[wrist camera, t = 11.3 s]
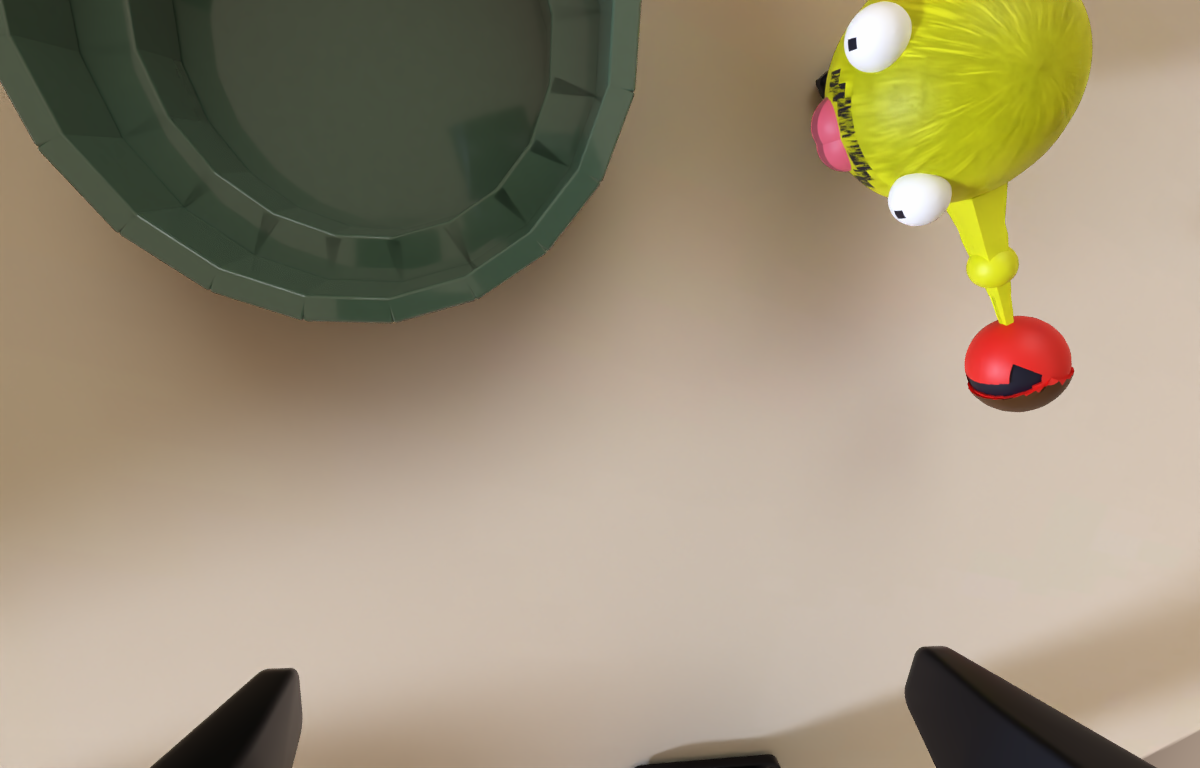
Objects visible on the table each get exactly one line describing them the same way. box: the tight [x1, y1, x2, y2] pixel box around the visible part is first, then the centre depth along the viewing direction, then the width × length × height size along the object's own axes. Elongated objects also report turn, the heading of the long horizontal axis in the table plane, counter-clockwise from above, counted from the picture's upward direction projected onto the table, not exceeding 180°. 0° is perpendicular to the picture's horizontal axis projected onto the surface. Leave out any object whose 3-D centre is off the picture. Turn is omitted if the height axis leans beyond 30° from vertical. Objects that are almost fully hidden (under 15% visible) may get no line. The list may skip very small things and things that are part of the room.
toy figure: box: [811, 0, 1092, 412], centre depth 15 cm, size 18×6×7 cm, turn 26°
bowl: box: [0, 0, 642, 323], centre depth 14 cm, size 12×12×4 cm
